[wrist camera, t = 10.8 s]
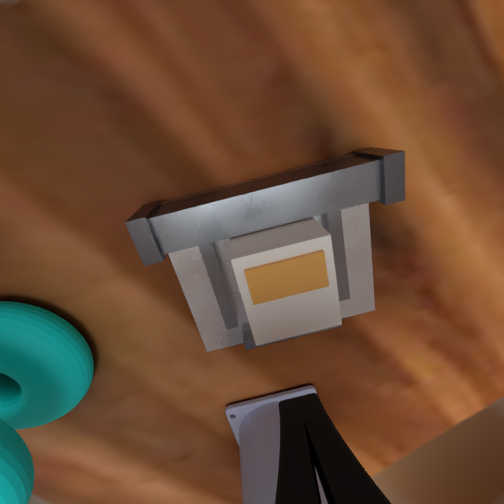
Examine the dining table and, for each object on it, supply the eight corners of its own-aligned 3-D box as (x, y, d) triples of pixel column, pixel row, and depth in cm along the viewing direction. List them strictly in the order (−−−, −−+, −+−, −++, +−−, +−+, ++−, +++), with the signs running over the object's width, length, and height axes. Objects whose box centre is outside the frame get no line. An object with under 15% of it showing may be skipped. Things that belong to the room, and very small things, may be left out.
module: (311, 273, 19) (343, 327, 14) (247, 290, 19) (256, 349, 14) (299, 204, 17) (332, 236, 12) (228, 222, 17) (230, 262, 12)
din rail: (374, 304, 21) (405, 340, 18) (203, 347, 22) (199, 391, 18) (365, 146, 17) (404, 150, 13) (146, 202, 17) (124, 222, 13)
